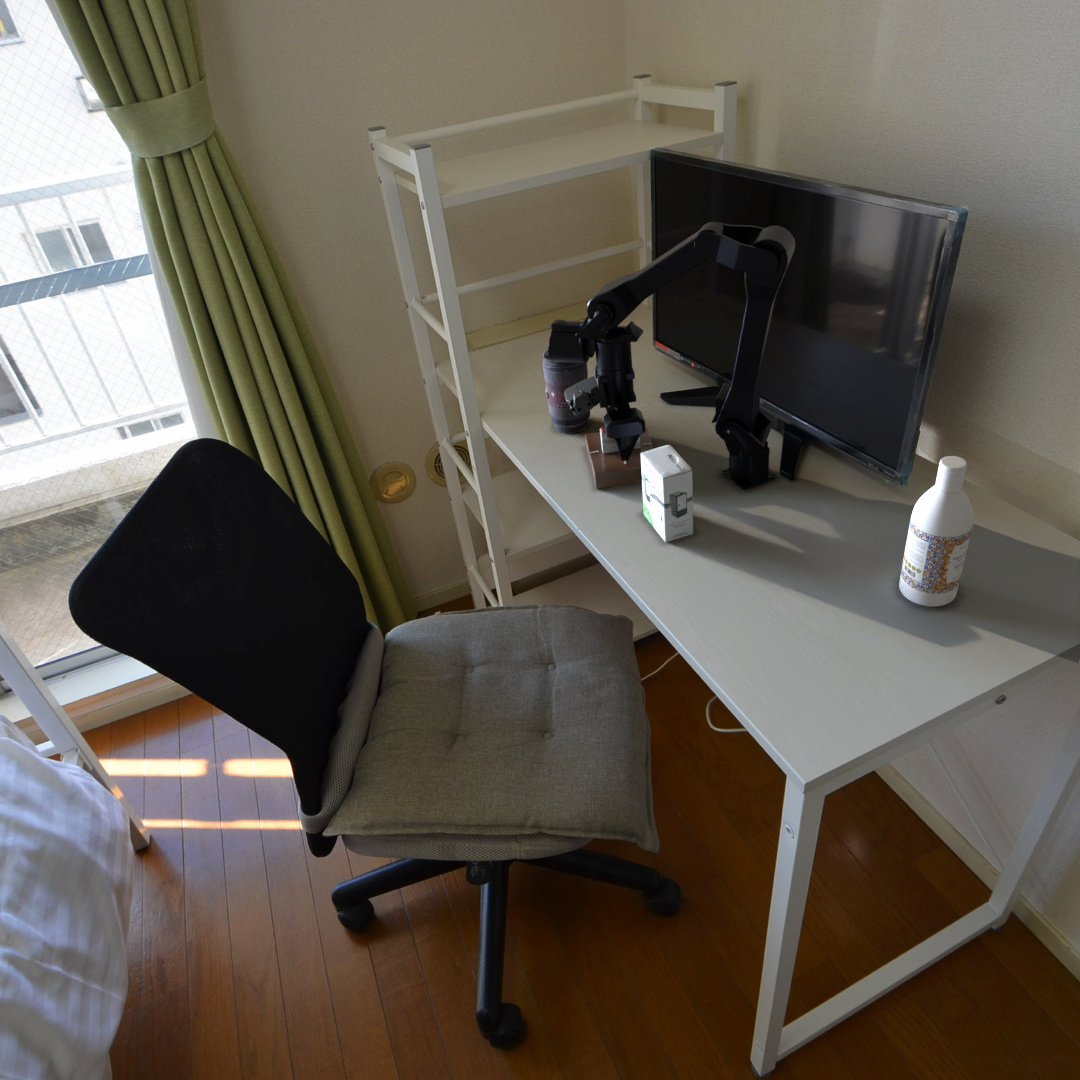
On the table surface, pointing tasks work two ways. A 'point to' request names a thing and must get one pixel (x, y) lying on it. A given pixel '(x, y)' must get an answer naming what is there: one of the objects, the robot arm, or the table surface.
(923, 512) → the bath foam
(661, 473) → the ink box
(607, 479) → the brown flat block
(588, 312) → the robot arm
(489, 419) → the table surface
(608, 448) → the small grey box
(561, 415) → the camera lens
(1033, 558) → the table surface
